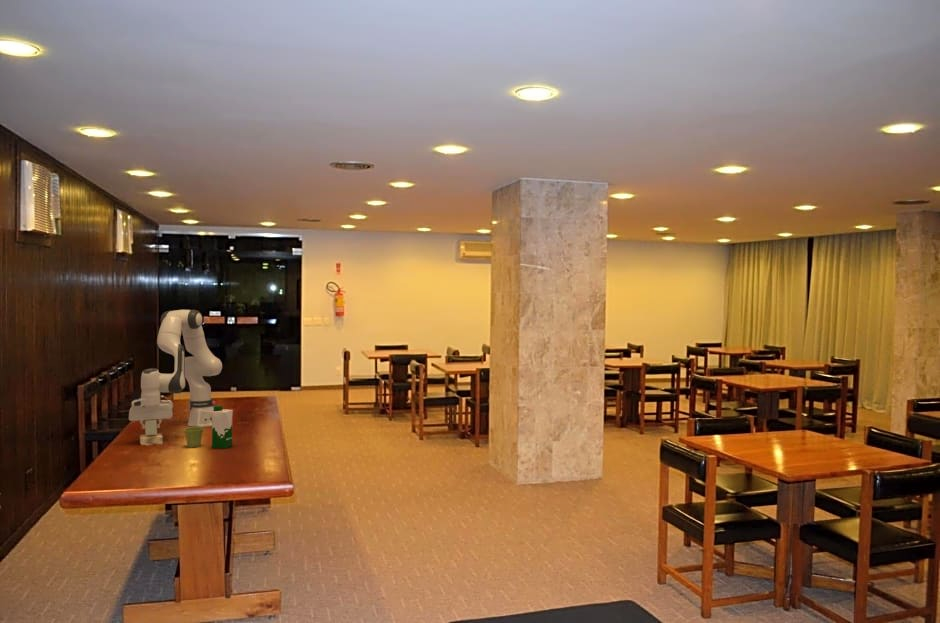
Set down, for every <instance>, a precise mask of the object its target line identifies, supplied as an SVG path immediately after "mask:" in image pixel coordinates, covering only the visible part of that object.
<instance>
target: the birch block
mask: <svg viewBox="0 0 940 623" xmlns="http://www.w3.org/2000/svg"><path fill="white" fill-rule="evenodd" d="M139 443H140V444H141V445H146V446H154V445H153V444H157V445H164V444H163V443H164V437H163V434H162V432H160V433H158V432H157V434H152V435H146V434H140V435H139ZM140 444H139V445H140ZM141 445H140V446H141Z"/></svg>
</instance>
